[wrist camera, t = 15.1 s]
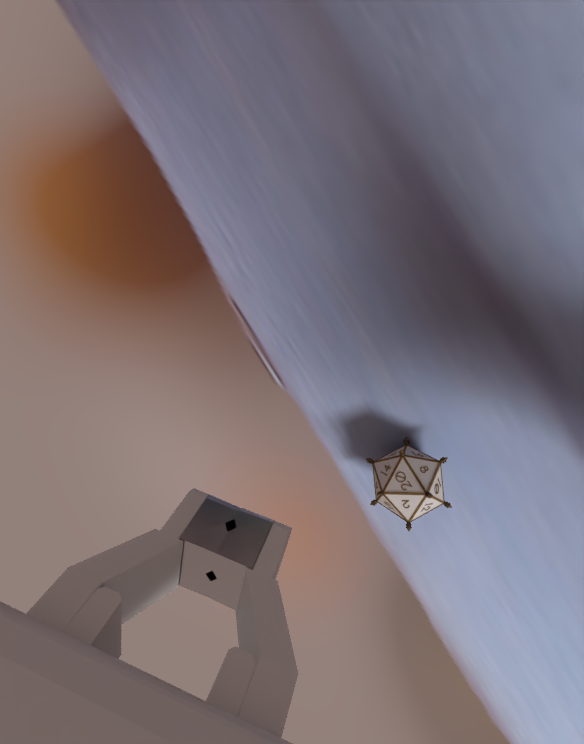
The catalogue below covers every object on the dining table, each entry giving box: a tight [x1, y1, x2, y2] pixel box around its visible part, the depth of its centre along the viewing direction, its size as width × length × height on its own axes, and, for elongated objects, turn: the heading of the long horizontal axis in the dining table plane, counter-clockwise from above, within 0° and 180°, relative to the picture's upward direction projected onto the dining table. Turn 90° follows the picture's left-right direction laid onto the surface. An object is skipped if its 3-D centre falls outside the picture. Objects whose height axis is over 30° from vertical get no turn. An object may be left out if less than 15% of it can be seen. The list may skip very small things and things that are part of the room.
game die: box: [366, 438, 452, 531], centre depth 45 cm, size 9×8×10 cm
